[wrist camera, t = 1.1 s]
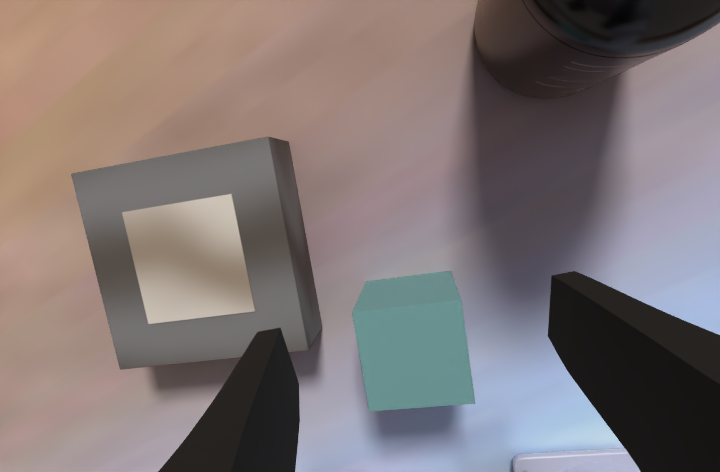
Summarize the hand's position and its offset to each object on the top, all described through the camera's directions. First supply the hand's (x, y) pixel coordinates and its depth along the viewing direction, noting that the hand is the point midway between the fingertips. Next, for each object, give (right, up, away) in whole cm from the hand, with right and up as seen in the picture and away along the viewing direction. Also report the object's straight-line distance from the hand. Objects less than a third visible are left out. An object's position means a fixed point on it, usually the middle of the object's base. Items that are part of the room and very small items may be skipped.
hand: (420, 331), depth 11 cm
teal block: (+1, -2, +11) cm, 11 cm away
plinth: (-9, +2, +12) cm, 15 cm away
